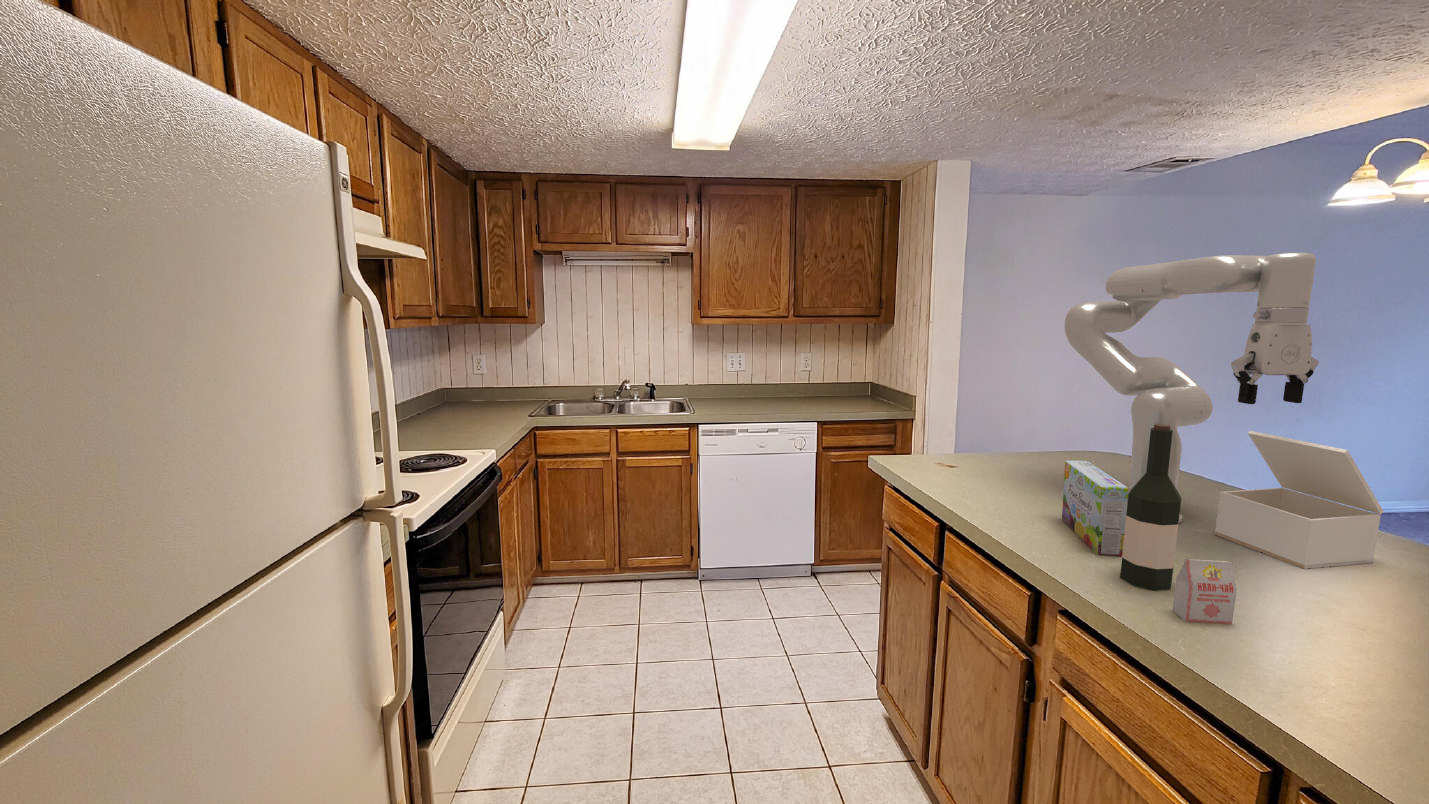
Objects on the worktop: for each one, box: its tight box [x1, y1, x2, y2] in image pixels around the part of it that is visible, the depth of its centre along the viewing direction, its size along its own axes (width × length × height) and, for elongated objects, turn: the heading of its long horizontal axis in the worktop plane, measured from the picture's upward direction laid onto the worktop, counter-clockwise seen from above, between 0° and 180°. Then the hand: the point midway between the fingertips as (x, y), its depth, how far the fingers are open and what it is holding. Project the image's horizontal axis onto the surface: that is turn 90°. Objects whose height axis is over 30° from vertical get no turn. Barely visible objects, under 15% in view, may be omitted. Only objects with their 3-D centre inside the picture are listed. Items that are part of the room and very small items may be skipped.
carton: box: [1214, 487, 1382, 570], centre depth 125 cm, size 16×18×10 cm
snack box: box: [1061, 460, 1129, 557], centre depth 132 cm, size 21×6×15 cm, turn 168°
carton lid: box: [1247, 430, 1385, 515], centre depth 123 cm, size 17×18×1 cm
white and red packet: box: [1172, 558, 1237, 625], centre depth 98 cm, size 4×7×10 cm, turn 80°
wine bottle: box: [1119, 424, 1182, 592], centre depth 109 cm, size 8×8×30 cm
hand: (1269, 402), depth 120 cm, fingers open, 9 cm apart
